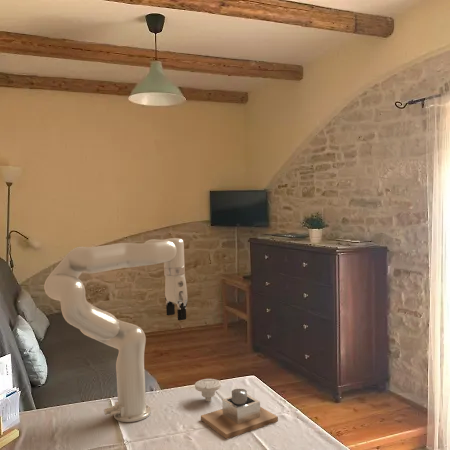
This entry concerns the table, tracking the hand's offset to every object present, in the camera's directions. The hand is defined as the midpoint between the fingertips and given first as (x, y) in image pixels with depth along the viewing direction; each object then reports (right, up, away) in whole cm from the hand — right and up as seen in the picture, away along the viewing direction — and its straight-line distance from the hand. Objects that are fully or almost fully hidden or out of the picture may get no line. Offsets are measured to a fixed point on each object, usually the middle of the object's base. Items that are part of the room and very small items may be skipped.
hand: (176, 317), depth 180 cm
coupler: (+23, -29, -19) cm, 42 cm away
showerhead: (+12, -30, -3) cm, 33 cm away
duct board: (+23, -30, -20) cm, 43 cm away
